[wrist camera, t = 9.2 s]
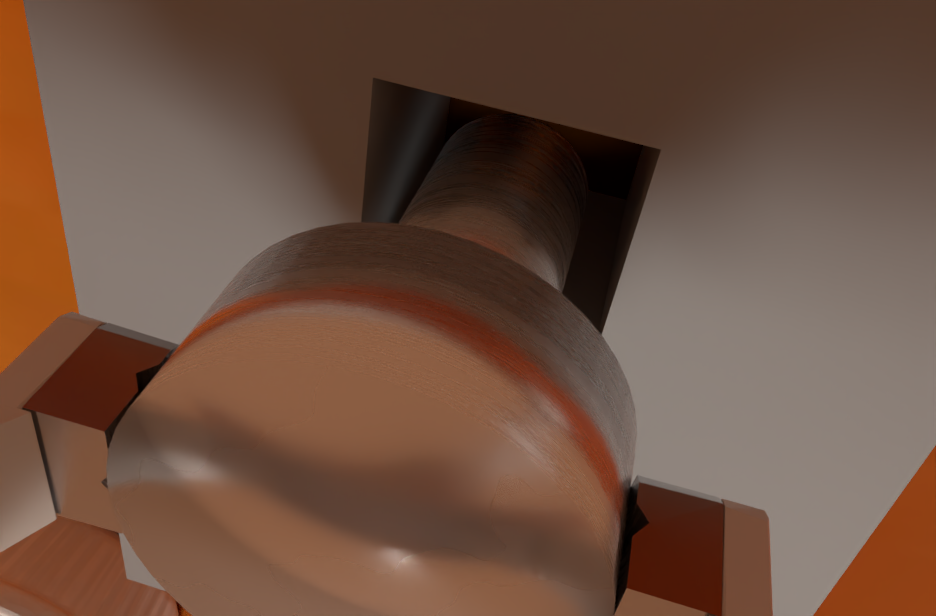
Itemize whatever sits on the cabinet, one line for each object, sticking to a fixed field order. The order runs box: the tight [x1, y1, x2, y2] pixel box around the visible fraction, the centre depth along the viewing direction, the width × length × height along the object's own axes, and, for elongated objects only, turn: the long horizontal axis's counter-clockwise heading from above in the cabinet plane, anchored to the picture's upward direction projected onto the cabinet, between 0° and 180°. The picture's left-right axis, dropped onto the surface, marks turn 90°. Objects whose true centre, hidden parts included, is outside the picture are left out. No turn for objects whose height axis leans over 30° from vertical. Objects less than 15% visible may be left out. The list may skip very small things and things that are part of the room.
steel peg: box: [106, 114, 637, 616], centre depth 13 cm, size 6×6×8 cm
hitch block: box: [23, 0, 936, 616], centre depth 19 cm, size 16×20×6 cm
